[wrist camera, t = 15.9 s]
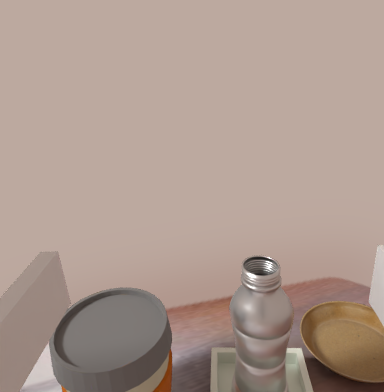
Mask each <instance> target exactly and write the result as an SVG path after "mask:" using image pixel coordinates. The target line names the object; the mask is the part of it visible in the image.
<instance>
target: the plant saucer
mask: <svg viewBox="0 0 384 392" xmlns="http://www.w3.org/2000/svg"><path fill="white" fill-rule="evenodd" d="M300 333H301V337H302V340H303V342H304V344H305V346H306V347H307V348H308V350H309V351H310V352H311V353H312V355H313V356H314V357H315V358H316V359H317V360H318V361H319V362H321V363H322V364H323V365H324V366H326V367H327V368H329V369H330V370H332V371H333V372H335V373H337V374H339V375H341V376H343V377H346V378H348V379H351V380H355V381H359V382H366V383H384V326H383V325H382V323H381V321H380V320H379V318H378V316H377V315H376V313H375V311H374V310H373V308H372V307H369V306H366V305H363V304H358V303H354V302H346V301H331V302H325V303H321V304H318V305H316V306H314V307H312V308H310V309H309V310H308V311H307V312H306V313H305V314H304V316H303V317H302V319H301V323H300Z"/></svg>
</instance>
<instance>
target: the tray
mask: <svg viewBox="0 0 384 392" xmlns="http://www.w3.org/2000/svg"><path fill="white" fill-rule="evenodd" d="M235 363H236V348H212V351H211V385H210V392H231V386H232V379H233V375H234V372H235ZM285 366H286V380H287V383H288V390H289V392H313V389H312V385H311V382H310V378H309V374H308V371H307V367H306V363H305V360H304V356H303V353H302V349H301V348H287V352H286V360H285Z"/></svg>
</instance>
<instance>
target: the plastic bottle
mask: <svg viewBox="0 0 384 392" xmlns="http://www.w3.org/2000/svg"><path fill="white" fill-rule="evenodd" d="M241 281H242V285H241V286H240V287H239V288H238V289H237V291H236V292H235V293H234V295H233V297H232V300H231V303H230V308H229V310H230V317H231V322H232V327H233V332H234V337H235V347H236V363H235V372H234V375H233V379H232V386H231V392H289V390H288V383H287V380H286V366H285V360H286V352H287V344H288V340H289V336H290V332H291V329H292V325H293V318H294V310H293V307H292V303H291V301H290V299H289V297H288V296H287V295H286V293H285V292H284V291H283V289H282V288H281V287H280V286H281V276H280V265H279V263H278V262H277V261H276V260H275V259H273V258H271V257H267V256H261V255H256V256H251V257H248V258H246V259H245V260H244V261H243V263H242V274H241Z"/></svg>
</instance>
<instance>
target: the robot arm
mask: <svg viewBox="0 0 384 392" xmlns="http://www.w3.org/2000/svg"><path fill="white" fill-rule="evenodd" d="M369 303H370V305H371V306H372V308H373V310H374V311H375V313H376V315H377V316H378V318H379V320H380V321H381V323H382V325H383V326H384V245H380V246H379V245H378V248H377V254H376V260H375V266H374V272H373V278H372V284H371V290H370V297H369ZM70 304H71V302H70V298H69V294H68V290H67V286H66V282H65V278H64V274H63V270H62V266H61V262H60V258H59V254H58V252H40V254H39V255H38V256H37V257H36V258H35V259H34V260H33V262H32V263H31V264H30V265H29V266H28V267H27V268H26V269H25V271H24V272H23V273H22V274H21V275H20V276H19V277H18V278H17V280H16V281H15V282H14V283H13V284H12V285H11V286H10V287H9V289H8V290H7V291H6V292H5V293H4V294H3V295H2V297H1V298H0V392H19V391H20V389H21V388H22V386H23V384H24V383H25V381H26V379H27V377H28V376H29V374H30V372H31V371H32V369H33V367H34V365H35V364H36V362H37V360H38V359H39V357H40V355H41V353H42V352H43V350H44V348H45V347H46V345H47V343H48V341H49V340H50V338H51V336H52V335H53V333H54V331H55V330H56V328H57V326H58V324H59V323H60V321H61V319H62V318H63V316H64V314H65V312H66V311H67V309H68V307H69V306H70Z"/></svg>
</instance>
